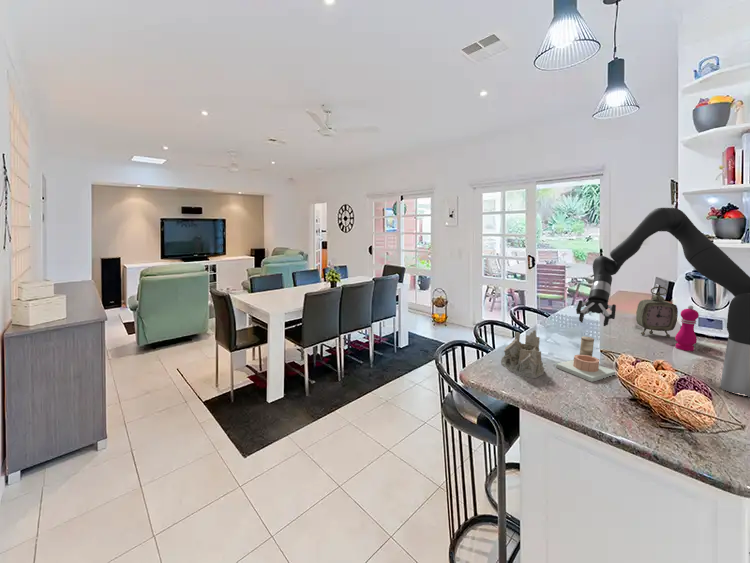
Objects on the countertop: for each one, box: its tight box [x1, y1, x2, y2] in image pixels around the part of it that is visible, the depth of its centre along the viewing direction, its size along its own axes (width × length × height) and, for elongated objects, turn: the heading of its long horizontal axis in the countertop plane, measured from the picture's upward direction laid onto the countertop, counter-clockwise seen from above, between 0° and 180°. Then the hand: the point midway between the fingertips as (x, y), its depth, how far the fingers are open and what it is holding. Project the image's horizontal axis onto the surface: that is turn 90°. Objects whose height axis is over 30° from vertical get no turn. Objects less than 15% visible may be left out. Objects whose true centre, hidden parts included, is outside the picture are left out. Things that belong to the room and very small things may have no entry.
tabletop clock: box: [635, 286, 679, 338], centre depth 175 cm, size 14×9×25 cm, turn 73°
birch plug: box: [579, 336, 595, 357], centre depth 142 cm, size 4×4×9 cm
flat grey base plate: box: [555, 354, 616, 383], centre depth 130 cm, size 14×14×5 cm
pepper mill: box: [674, 305, 700, 352], centre depth 155 cm, size 7×7×20 cm
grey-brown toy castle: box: [500, 329, 545, 379], centre depth 132 cm, size 16×16×15 cm
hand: (592, 323), depth 148 cm, fingers open, 8 cm apart
